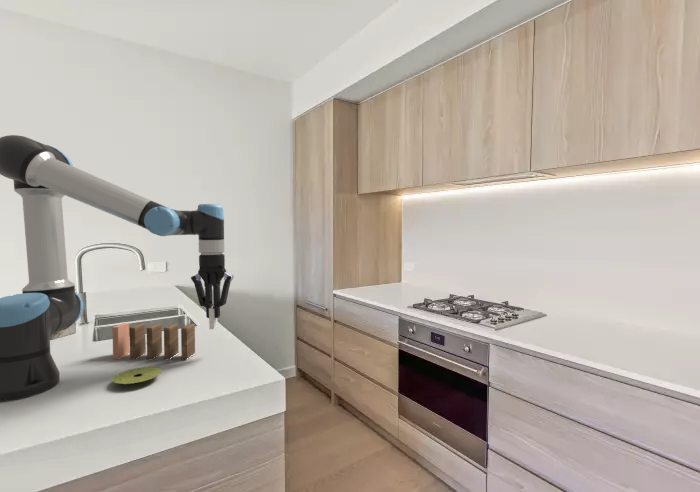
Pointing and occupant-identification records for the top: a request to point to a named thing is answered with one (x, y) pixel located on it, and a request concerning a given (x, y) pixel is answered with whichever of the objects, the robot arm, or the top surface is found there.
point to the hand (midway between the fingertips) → (213, 327)
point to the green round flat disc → (136, 375)
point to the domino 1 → (120, 340)
